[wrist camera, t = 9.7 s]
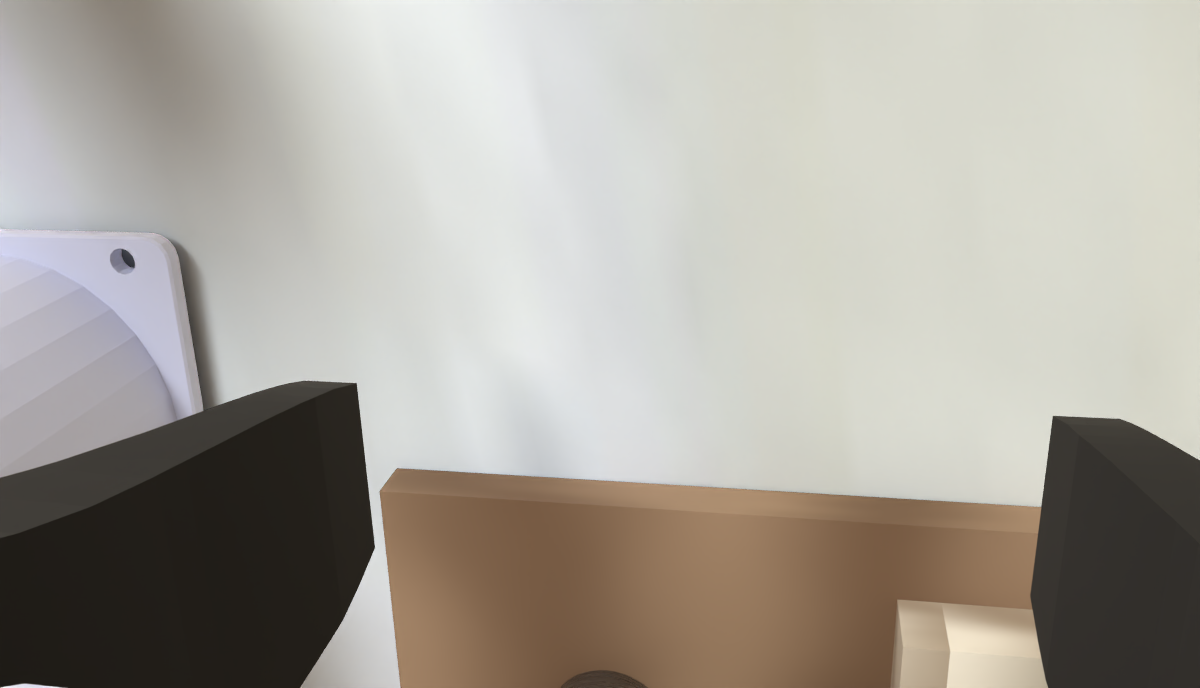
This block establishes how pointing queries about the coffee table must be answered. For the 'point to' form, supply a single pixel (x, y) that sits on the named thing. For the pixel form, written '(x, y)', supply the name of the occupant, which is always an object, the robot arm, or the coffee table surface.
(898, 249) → the coffee table surface
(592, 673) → the brushed metal cylinder
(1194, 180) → the coffee table surface
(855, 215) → the coffee table surface
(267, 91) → the coffee table surface
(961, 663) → the brown board
